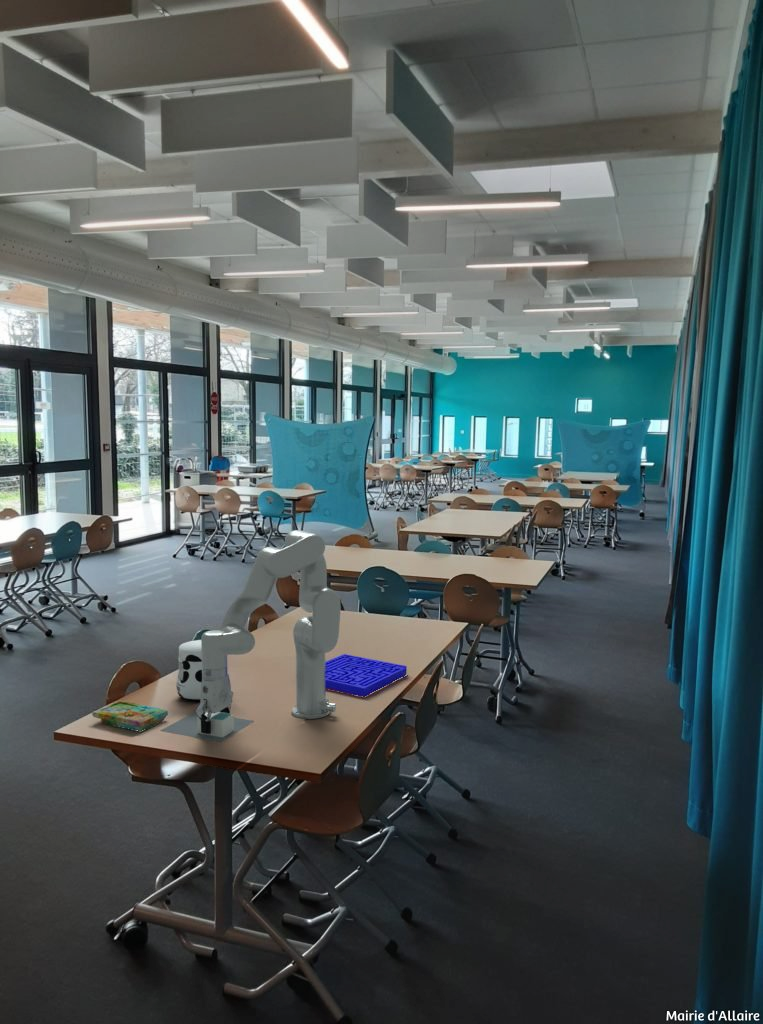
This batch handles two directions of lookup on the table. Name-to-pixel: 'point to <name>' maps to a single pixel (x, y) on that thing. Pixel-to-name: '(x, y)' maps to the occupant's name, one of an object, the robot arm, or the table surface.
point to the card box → (219, 724)
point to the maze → (360, 674)
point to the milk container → (190, 670)
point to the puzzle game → (130, 715)
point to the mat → (189, 728)
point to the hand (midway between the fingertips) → (215, 727)
